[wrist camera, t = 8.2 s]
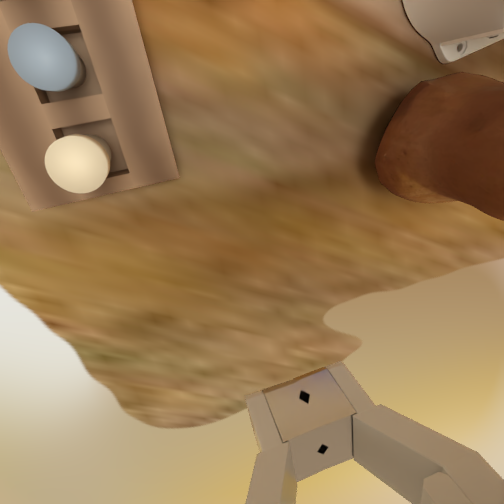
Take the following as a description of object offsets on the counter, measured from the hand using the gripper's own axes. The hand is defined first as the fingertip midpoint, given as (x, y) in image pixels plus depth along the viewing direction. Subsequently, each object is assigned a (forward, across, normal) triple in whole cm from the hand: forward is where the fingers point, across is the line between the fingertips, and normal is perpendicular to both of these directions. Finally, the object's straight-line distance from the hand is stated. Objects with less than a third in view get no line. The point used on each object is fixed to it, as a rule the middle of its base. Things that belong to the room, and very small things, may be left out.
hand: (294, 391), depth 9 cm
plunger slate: (+29, +8, -12) cm, 33 cm away
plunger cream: (+27, +8, -5) cm, 28 cm away
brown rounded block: (+31, -28, +1) cm, 42 cm away
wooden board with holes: (+31, +8, -12) cm, 34 cm away
